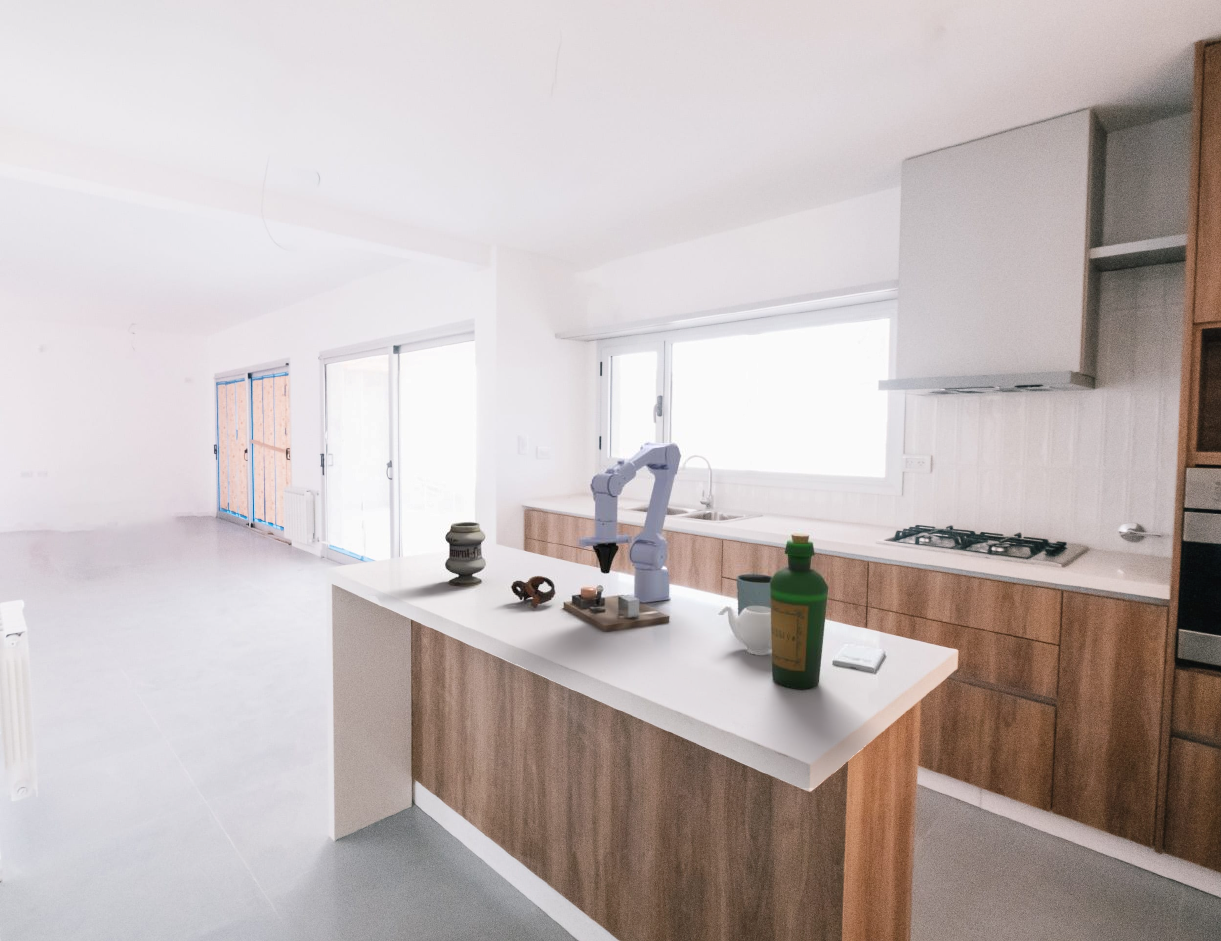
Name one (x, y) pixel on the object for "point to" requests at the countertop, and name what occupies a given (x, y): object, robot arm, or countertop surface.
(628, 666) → the countertop surface
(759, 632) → the teapot
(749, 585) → the blue-gray cylindrical pot
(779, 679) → the bottle
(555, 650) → the countertop surface
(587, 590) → the push button
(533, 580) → the brown curved loop piece
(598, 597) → the toggle lever
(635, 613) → the gray rectangular block
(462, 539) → the apothecary jar
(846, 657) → the external hard drive
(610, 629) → the control panel
